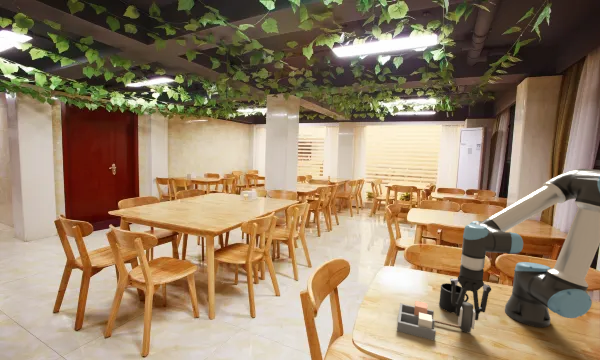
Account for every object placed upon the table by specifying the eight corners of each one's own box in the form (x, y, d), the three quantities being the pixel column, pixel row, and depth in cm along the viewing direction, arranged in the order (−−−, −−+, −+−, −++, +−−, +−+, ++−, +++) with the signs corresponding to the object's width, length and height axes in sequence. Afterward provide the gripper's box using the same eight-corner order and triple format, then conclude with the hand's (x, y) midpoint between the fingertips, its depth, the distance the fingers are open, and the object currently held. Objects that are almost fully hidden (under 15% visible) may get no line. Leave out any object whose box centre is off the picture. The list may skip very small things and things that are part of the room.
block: (430, 330, 111) (431, 315, 110) (430, 336, 107) (432, 321, 106) (417, 326, 113) (419, 312, 112) (417, 333, 108) (419, 318, 108)
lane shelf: (432, 318, 119) (433, 310, 118) (434, 340, 105) (435, 331, 104) (399, 310, 123) (400, 303, 123) (396, 330, 110) (397, 321, 109)
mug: (473, 314, 123) (476, 294, 122) (445, 313, 123) (447, 293, 122) (461, 302, 133) (463, 283, 132) (435, 301, 132) (437, 282, 131)
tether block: (469, 327, 112) (472, 302, 111) (471, 334, 108) (474, 308, 107) (414, 314, 120) (416, 291, 119) (413, 320, 115) (416, 296, 114)
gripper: (495, 266, 108) (489, 325, 111) (446, 259, 115) (440, 315, 117) (501, 274, 102) (493, 337, 104) (448, 265, 108) (442, 325, 110)
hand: (465, 325), depth 111 cm, fingers closed on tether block, 3 cm apart
